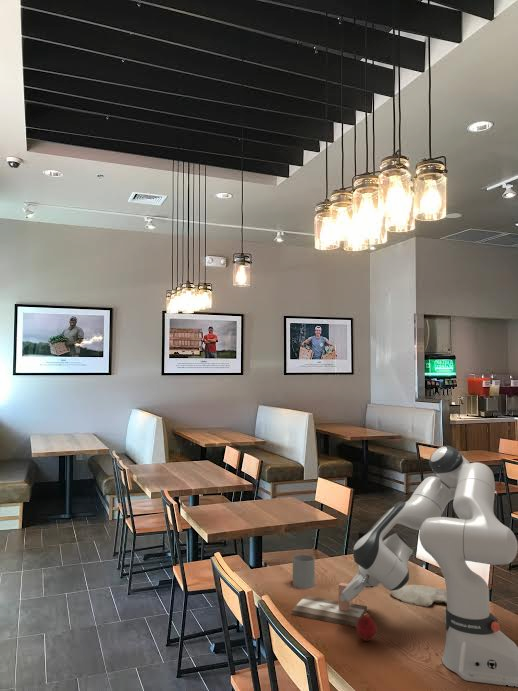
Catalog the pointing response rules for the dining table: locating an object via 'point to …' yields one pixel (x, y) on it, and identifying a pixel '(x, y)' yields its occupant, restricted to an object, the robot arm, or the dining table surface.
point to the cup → (303, 571)
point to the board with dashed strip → (329, 611)
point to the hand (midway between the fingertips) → (342, 597)
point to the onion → (366, 627)
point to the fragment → (420, 595)
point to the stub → (344, 604)
